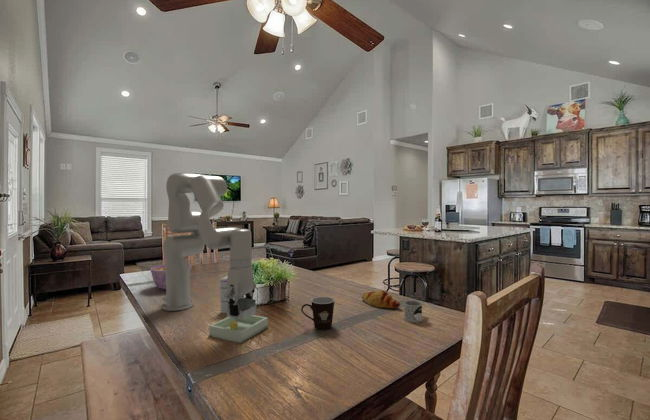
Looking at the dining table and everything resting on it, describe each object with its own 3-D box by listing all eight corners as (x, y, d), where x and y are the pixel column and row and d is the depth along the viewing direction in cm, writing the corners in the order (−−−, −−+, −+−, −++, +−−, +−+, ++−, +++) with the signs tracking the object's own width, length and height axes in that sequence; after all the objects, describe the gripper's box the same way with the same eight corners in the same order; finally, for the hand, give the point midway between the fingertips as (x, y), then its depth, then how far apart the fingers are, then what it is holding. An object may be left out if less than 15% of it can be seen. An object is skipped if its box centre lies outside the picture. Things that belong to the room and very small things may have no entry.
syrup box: (233, 314, 132) (232, 279, 132) (220, 313, 134) (219, 278, 133) (239, 309, 138) (239, 276, 138) (226, 308, 139) (226, 275, 139)
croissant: (358, 308, 150) (352, 294, 147) (369, 294, 156) (364, 281, 153) (396, 318, 135) (391, 304, 132) (407, 303, 141) (402, 288, 138)
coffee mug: (337, 324, 121) (337, 298, 121) (330, 332, 113) (330, 304, 113) (309, 320, 125) (308, 295, 124) (300, 328, 117) (300, 301, 116)
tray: (209, 335, 111) (209, 325, 111) (238, 321, 124) (238, 312, 124) (241, 343, 105) (241, 332, 105) (268, 327, 118) (268, 317, 118)
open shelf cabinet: (227, 316, 113) (226, 303, 113) (240, 310, 120) (240, 297, 120) (242, 319, 111) (242, 305, 110) (255, 313, 117) (255, 299, 117)
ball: (233, 319, 113) (234, 318, 116) (227, 326, 112) (227, 324, 115) (239, 325, 113) (239, 324, 116) (233, 332, 112) (233, 330, 115)
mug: (416, 324, 120) (416, 307, 120) (401, 320, 125) (401, 303, 125) (428, 317, 128) (428, 301, 128) (413, 313, 132) (413, 297, 132)
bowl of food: (159, 284, 181) (159, 264, 181) (196, 283, 183) (195, 263, 183) (143, 294, 161) (143, 271, 161) (184, 293, 163) (184, 270, 163)
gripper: (247, 258, 124) (248, 303, 125) (215, 267, 108) (216, 318, 109) (263, 260, 121) (264, 306, 122) (233, 268, 105) (233, 321, 106)
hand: (241, 311), depth 115 cm, fingers closed on open shelf cabinet, 7 cm apart
